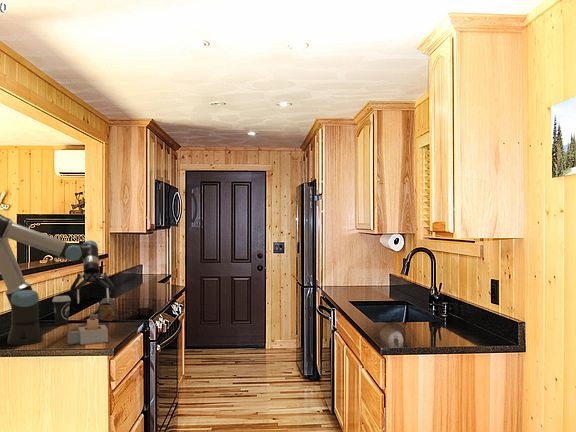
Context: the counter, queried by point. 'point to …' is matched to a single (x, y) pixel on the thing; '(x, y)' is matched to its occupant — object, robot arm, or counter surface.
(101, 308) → the tin
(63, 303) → the coffee cup
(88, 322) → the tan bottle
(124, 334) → the counter surface
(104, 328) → the motor housing
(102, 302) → the bluetooth speaker
